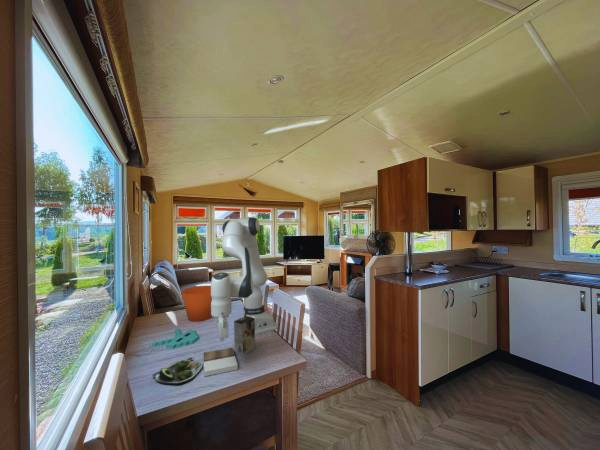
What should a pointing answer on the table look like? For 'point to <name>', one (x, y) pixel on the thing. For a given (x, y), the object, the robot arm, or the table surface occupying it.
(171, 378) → the salad plate
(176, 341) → the alien figure
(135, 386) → the table surface
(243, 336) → the coffee box
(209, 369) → the grey plank
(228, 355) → the walnut board
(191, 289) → the flowerpot
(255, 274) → the robot arm
